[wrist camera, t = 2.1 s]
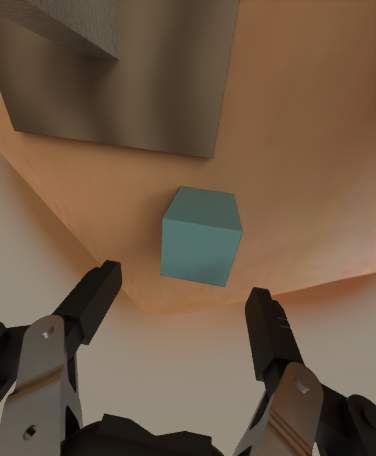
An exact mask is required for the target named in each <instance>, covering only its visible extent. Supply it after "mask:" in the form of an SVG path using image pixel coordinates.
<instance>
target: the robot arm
mask: <svg viewBox="0 0 376 456" xmlns="http://www.w3.org/2000/svg"><path fill="white" fill-rule="evenodd" d="M121 285H122V273H121V264H120V262H116V261H110V260H106V261H105V262H104V263H103V265H102V266H101V267H100V268H98V267H95V268H94V269H92V270H91V271H89V272H88V273H87V274H86V275H85V276H84V277H83V278H82V279H81V281H80V282H79V283H78V284H77V285H76V287H75V288H74V289H73V290H72V291H71V292H70V294H69V295H68V296H67V297H66V298H65V300H64V301H63V302H62V303H61V304H60V305H59V307H58V308H57V309H56V310H55V311H54V313H52V314H51V315H49V316H46V317H43V318H41V319H39V320H37V321H36V322H34V323H33V324H32V325H28V326H19V327H11V328H6V327H5V326H4V324H3V323H1V322H0V402H1V400H2V399H3V398H4V396H5V395H6V393H7V392H8V391H9V389H10V388H11V386H12V385H13V383H14V382H15V381H16V379H17V381H16V386H15V389H14V391H13V393H12V394H10V395H9V396H8V397H7V399H6V401H5V404H4V408H3V413H2V418H1V423H0V456H224V455H223V454H222V453H221V452H220V451H219V450H218V449H217V448H216V447H214V446H213V445H211V440H212V439H211V437H210V436H205V435H201V434H196V433H191V432H187V431H182V432H176V433H170V434H165V435H159V436H155V435H153V434H151V433H150V432H148V431H147V430H145V429H144V428H142V427H141V426H139V425H138V424H137V423H135V422H134V421H132V420H131V419H128V418H123V417H119V416H114V415H109V414H104V416H103V418H102V421H97V422H94V423H92V424H89V425H87V426H85V427H83V421H82V410H81V404H80V399H79V392H78V374H77V357H76V351H77V349H78V347H79V346H80V344H84V345H89V343H90V341H91V340H92V338H93V336H94V334H95V333H96V331H97V329H98V327H99V325H100V324H101V322H102V320H103V318H104V317H105V315H106V313H107V311H108V309H109V308H110V306H111V304H112V302H113V301H114V299H115V297H116V295H117V294H118V292H119V290H120V288H121ZM245 316H246V322H247V328H248V334H249V339H250V346H251V351H252V358H253V364H254V370H255V376H256V380H258V381H262V382H264V384H265V389H266V390H265V391H264V394H263V396H262V398H261V400H260V402H259V404H258V407H257V409H256V411H255V413H254V415H253V417H252V420H251V422H250V424H249V426H248V428H247V430H246V432H245V434H244V435H243V437H242V439H241V440H240V442H239V444H238V446H237V447H236V449H235V452H234V454H233V456H312V449H313V445H314V441H315V442H316V443H317V446H318V450H319V453H320V456H376V405H375V404H374V403H372V402H371V401H370V400H368V399H367V398H365V397H363V396H360V395H356V394H354V395H351V396H349V397H348V398H347V397H345V396H343V395H341V394H339V393H337V392H336V391H334V390H332V389H330V388H328V387H327V386H325V385H323V384H321V383H320V382H319V380H318V379H317V377H316V376H315V374H314V373H313V372H312V371H311V370H310V369H309V368H307V367H306V366H305V364H304V362H303V359H302V357H301V354H300V352H299V349H298V346H297V344H296V341H295V338H294V336H293V333H292V330H291V329H290V325H289V323H288V321H287V317H286V315H285V312H284V309H283V308H282V307H281V305H280V304H279V303H278V302H277V301H276V300H272V298H271V295H270V292H269V290H268V289H263V288H258V287H253V289H252V291H251V293H250V296H249V298H248V300H247V302H246V306H245Z"/></svg>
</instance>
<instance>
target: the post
mask: <svg viewBox="0 0 376 456" xmlns="http://www.w3.org/2000/svg"><path fill="white" fill-rule="evenodd" d="M0 16H2V17H4V18H6V19H8V20H10V21H12V22H14V23H16V24H18V25H20V26H22V27H24V28H26V29H28V30H30V31H32V32H34V33H36V34H38V35H40V36H42V37H44V38H47V39H49V40H51V41H53V42H55V43H57V44H59V45H61V46H63V47H65V48H67V49H69V50H71V51H73V52H75V53H77V54H79V55H81V56H88V57H97V58H106V59H116V60H120V59H119V45H118V30H117V15H116V1H115V0H0Z"/></svg>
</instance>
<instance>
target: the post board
mask: <svg viewBox="0 0 376 456" xmlns="http://www.w3.org/2000/svg"><path fill="white" fill-rule="evenodd" d="M115 1H116V15H117V30H118V45H119V59H120V60H116V59H106V58H97V57H88V56H81V55H79V54H77V53H75V52H73V51H71V50H69V49H67V48H65V47H63V46H61V45H59V44H57V43H55V42H53V41H51V40H49V39H47V38H44V37H42V36H40V35H38V34H36V33H34V32H32V31H30V30H28V29H26V28H24V27H22V26H20V25H18V24H16V23H14V22H12V21H10V20H8V19H6V18H4V17H2V16H0V91H1V94H2V97H3V100H4V103H5V106H6V108H7V111H8V114H9V117H10V120H11V123H12V126H13V128H14V131H19V132H26V133H33V134H41V135H48V136H55V137H62V138H69V139H76V140H84V141H91V142H98V143H105V144H112V145H119V146H127V147H134V148H141V149H148V150H155V151H162V152H170V153H177V154H184V155H191V156H198V157H205V158H213V154H214V148H215V142H216V136H217V130H218V124H219V119H220V113H221V107H222V101H223V95H224V89H225V83H226V77H227V72H228V66H229V60H230V54H231V48H232V42H233V36H234V30H235V25H236V19H237V13H238V7H239V1H240V0H115Z"/></svg>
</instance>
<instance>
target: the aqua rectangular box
mask: <svg viewBox="0 0 376 456" xmlns="http://www.w3.org/2000/svg"><path fill="white" fill-rule="evenodd" d="M242 232H243V230H242V226H241V222H240V218H239V213H238V209H237V205H236V201H235V197H234V194H228V193H221V192H215V191H208V190H201V189H195V188H188V187H180V189H179V190H178V192H177V194H176V196H175V197H174V199H173V201H172V203H171V205H170V206H169V208H168V210H167V212H166V213H165V215H164V217H163V223H162V249H161V274H160V275H162V276H167V277H173V278H178V279H184V280H189V281H194V282H200V283H205V284H211V285H216V286H222V287H225V286H226V283H227V280H228V277H229V273H230V270H231V267H232V264H233V261H234V258H235V254H236V251H237V248H238V245H239V242H240V239H241V236H242Z"/></svg>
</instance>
